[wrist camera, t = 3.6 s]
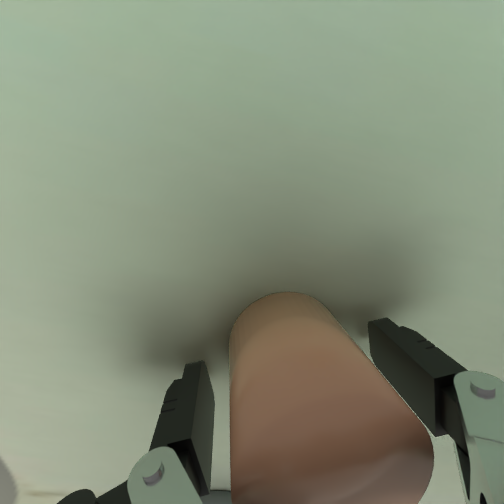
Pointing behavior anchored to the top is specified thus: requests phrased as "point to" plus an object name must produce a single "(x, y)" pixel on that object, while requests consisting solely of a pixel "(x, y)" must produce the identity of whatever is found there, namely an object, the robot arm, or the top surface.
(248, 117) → the top surface
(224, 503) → the slate coaster
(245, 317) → the peach rounded cylinder
